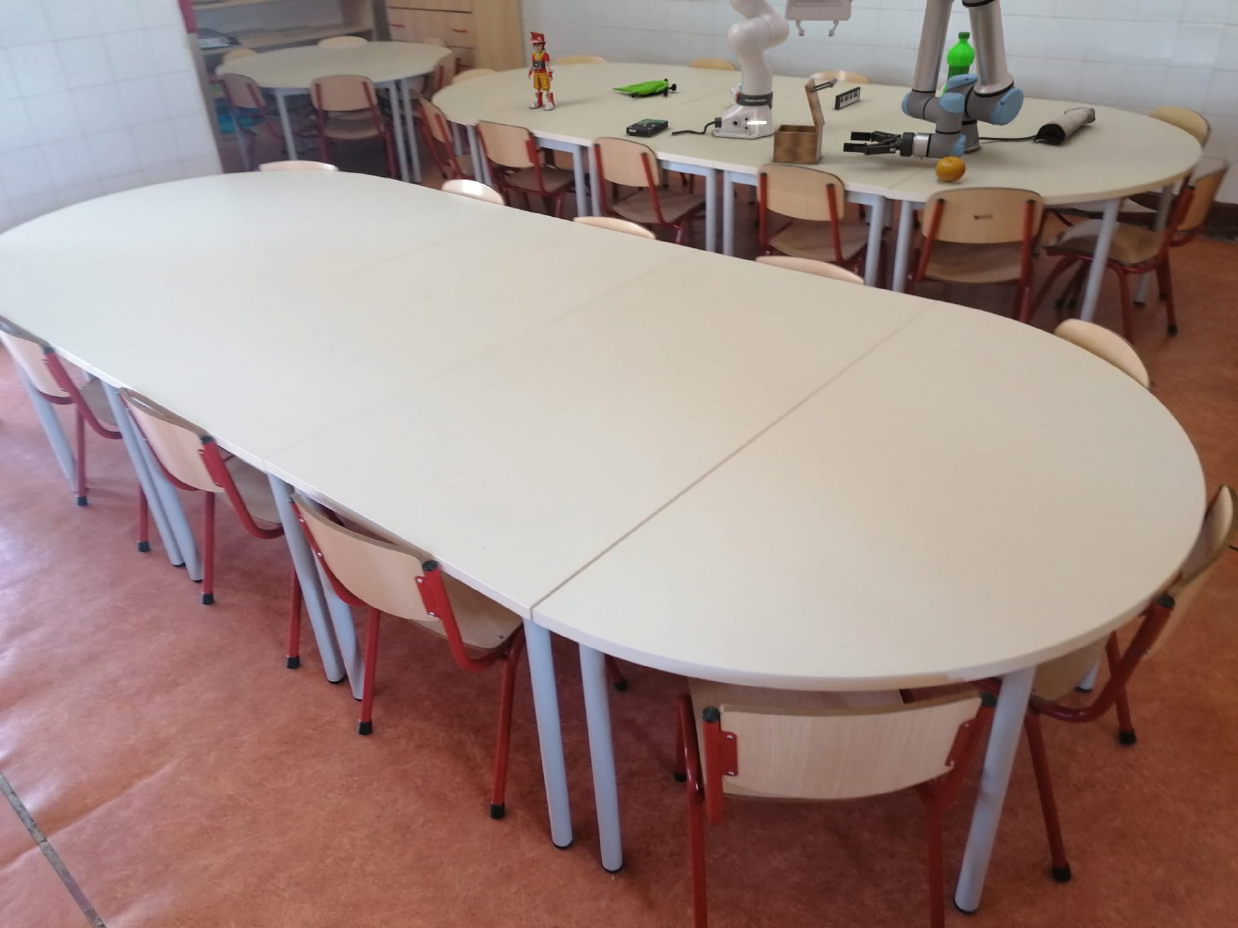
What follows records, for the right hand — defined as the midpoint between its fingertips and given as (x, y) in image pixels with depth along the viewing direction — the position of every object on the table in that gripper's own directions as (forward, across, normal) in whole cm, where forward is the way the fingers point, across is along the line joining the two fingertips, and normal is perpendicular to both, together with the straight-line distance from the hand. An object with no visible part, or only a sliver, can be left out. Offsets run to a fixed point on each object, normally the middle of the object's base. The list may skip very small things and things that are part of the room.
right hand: (847, 141), depth 295 cm
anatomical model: (+52, +65, -6) cm, 84 cm away
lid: (+12, 0, +11) cm, 16 cm away
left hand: (+12, 0, +32) cm, 34 cm away
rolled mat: (-67, +46, -6) cm, 82 cm away
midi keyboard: (+12, +76, -6) cm, 77 cm away
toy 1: (+137, +51, -6) cm, 146 cm away
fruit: (-34, -14, -6) cm, 37 cm away
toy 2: (+104, +84, -6) cm, 134 cm away
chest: (+16, 0, -6) cm, 17 cm away
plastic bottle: (-28, +86, -6) cm, 91 cm away
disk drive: (+79, +23, -6) cm, 82 cm away
